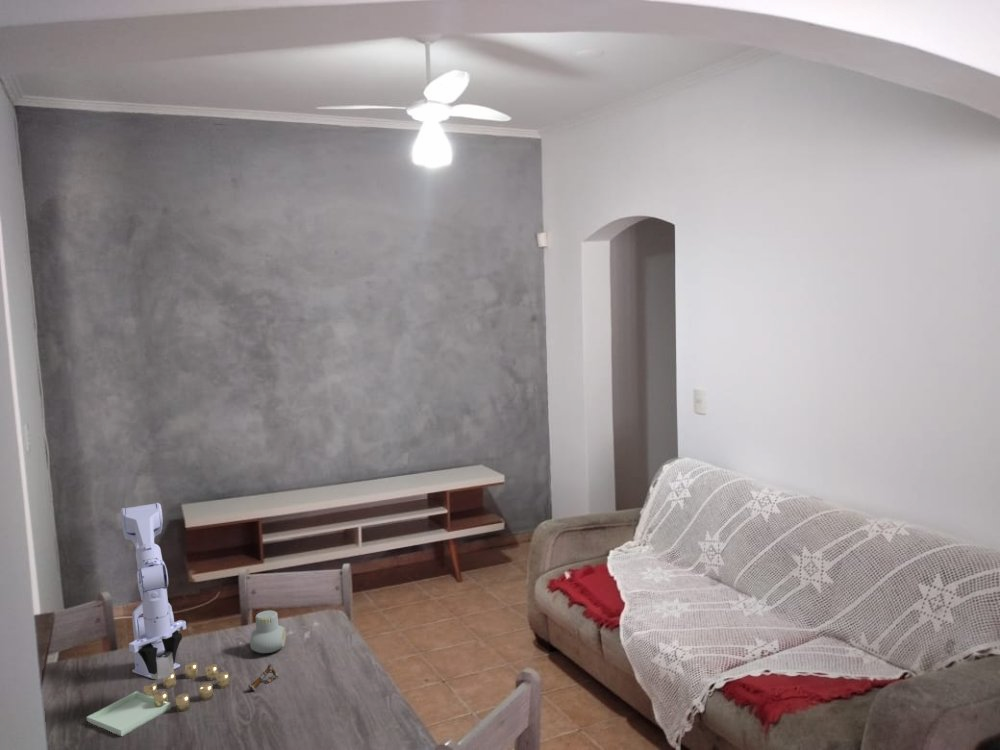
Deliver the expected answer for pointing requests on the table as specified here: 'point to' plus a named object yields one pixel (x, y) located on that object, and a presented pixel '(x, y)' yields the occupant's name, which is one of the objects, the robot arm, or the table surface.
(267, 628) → the air freshener
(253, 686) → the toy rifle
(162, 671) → the steel nut
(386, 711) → the table surface
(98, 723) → the tray
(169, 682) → the set of brass balls
